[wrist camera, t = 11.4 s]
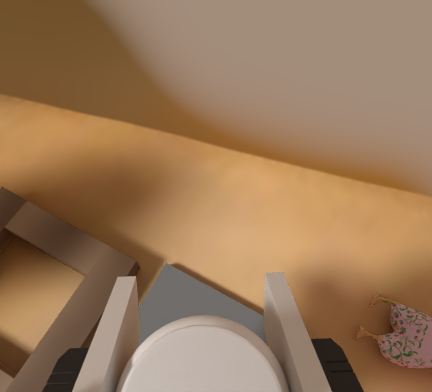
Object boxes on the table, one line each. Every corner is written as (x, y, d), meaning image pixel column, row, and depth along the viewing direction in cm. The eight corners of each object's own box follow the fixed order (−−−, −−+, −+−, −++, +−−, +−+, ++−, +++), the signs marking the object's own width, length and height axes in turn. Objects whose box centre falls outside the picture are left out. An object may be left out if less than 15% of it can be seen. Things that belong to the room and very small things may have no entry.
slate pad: (64, 434, 21) (60, 436, 20) (167, 265, 25) (166, 262, 25) (240, 555, 19) (241, 560, 18) (319, 348, 23) (321, 347, 23)
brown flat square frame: (-112, 338, 23) (-133, 335, 22) (12, 196, 27) (1, 186, 26) (30, 438, 21) (18, 442, 19) (140, 267, 25) (136, 260, 24)
